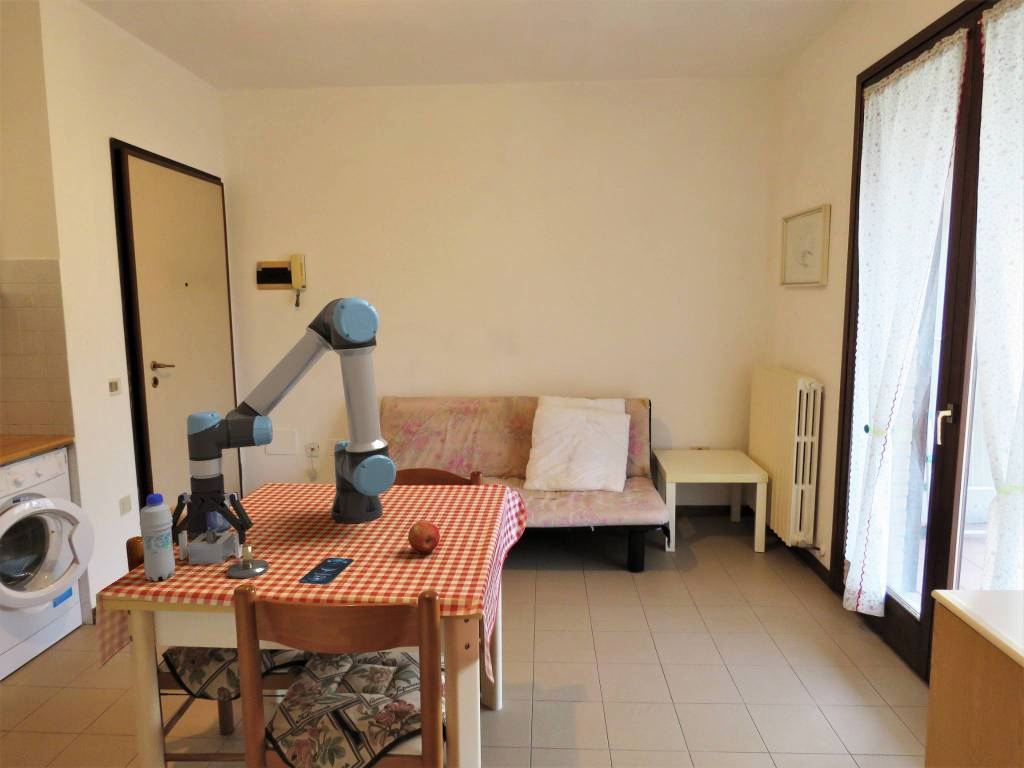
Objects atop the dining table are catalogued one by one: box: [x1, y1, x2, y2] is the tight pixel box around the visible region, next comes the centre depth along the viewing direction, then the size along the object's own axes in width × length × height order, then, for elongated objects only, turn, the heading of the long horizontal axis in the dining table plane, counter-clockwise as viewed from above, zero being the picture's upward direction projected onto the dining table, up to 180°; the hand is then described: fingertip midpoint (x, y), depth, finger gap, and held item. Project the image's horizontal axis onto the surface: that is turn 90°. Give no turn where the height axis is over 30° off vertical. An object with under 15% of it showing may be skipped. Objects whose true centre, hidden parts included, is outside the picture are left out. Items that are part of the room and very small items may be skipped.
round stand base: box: [227, 544, 269, 580], centre depth 155 cm, size 9×9×6 cm
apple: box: [407, 519, 441, 555], centre depth 165 cm, size 8×8×8 cm
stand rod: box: [206, 529, 217, 541], centre depth 163 cm, size 3×3×7 cm
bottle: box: [139, 493, 176, 582], centre depth 151 cm, size 7×7×20 cm
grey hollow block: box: [187, 532, 236, 565], centre depth 164 cm, size 8×8×5 cm
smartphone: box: [298, 557, 355, 585], centre depth 155 cm, size 8×1×15 cm
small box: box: [186, 492, 232, 540], centre depth 181 cm, size 11×6×10 cm, turn 168°
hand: (211, 557), depth 164 cm, fingers open, 13 cm apart
